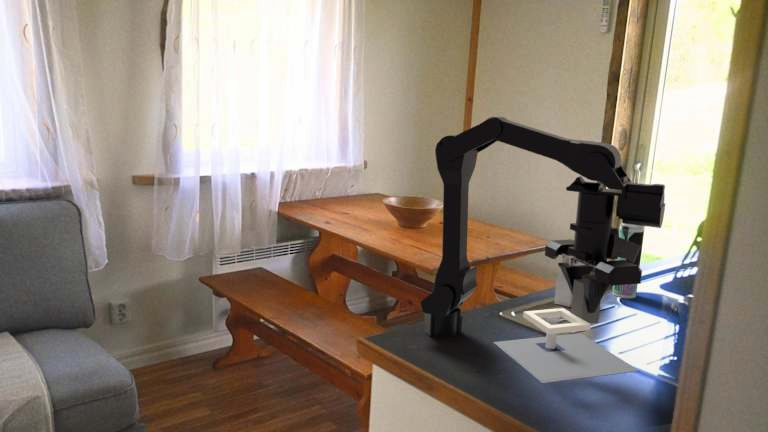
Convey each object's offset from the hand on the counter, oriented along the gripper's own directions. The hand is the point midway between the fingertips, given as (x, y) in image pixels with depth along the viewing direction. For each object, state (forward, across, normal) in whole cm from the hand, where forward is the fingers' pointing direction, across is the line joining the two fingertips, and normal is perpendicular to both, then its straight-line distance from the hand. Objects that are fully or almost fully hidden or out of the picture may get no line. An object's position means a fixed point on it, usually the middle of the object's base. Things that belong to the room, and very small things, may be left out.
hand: (585, 309), depth 104 cm
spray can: (+12, +35, -37) cm, 52 cm away
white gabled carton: (+12, +34, -20) cm, 41 cm away
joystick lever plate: (+2, 0, +4) cm, 4 cm away
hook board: (+12, +4, +1) cm, 12 cm away
